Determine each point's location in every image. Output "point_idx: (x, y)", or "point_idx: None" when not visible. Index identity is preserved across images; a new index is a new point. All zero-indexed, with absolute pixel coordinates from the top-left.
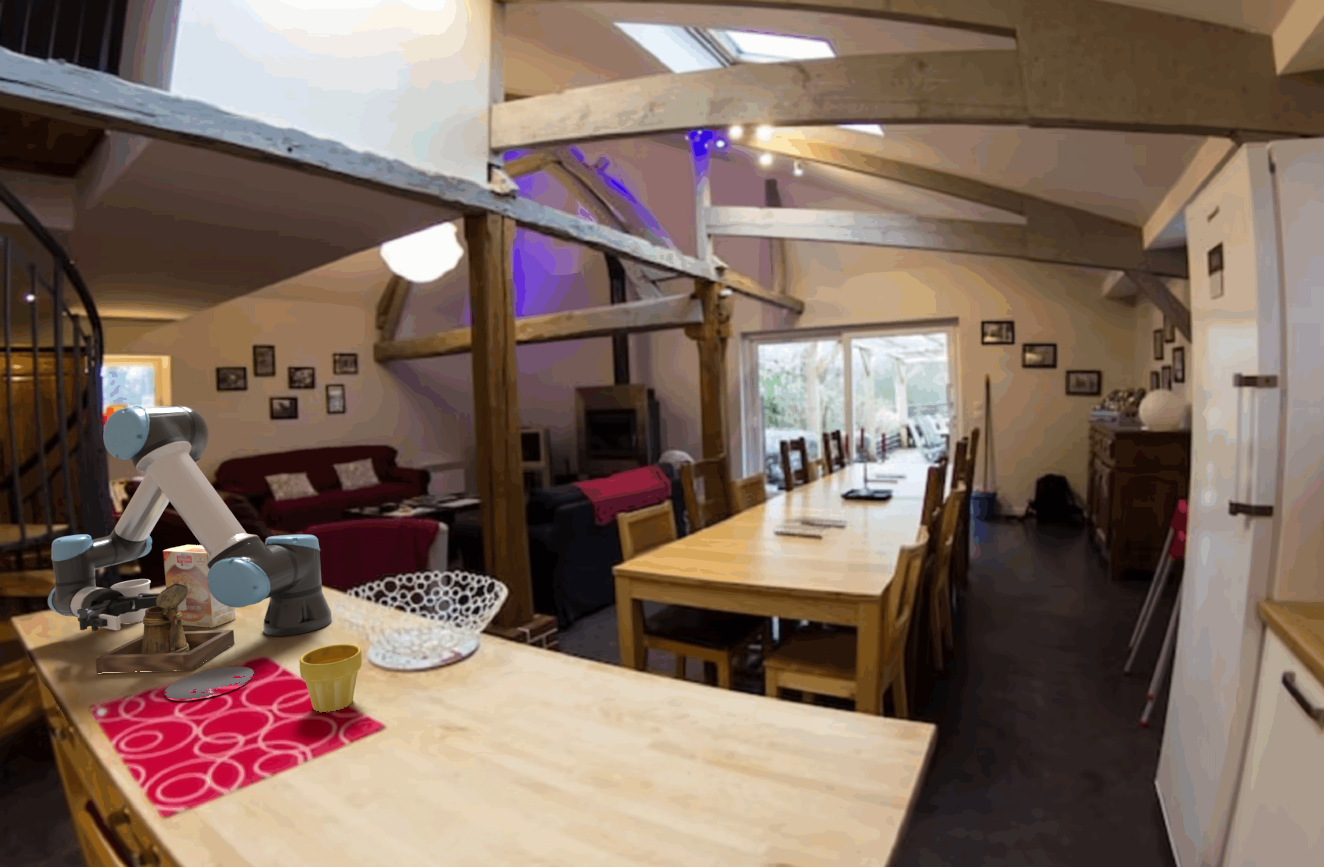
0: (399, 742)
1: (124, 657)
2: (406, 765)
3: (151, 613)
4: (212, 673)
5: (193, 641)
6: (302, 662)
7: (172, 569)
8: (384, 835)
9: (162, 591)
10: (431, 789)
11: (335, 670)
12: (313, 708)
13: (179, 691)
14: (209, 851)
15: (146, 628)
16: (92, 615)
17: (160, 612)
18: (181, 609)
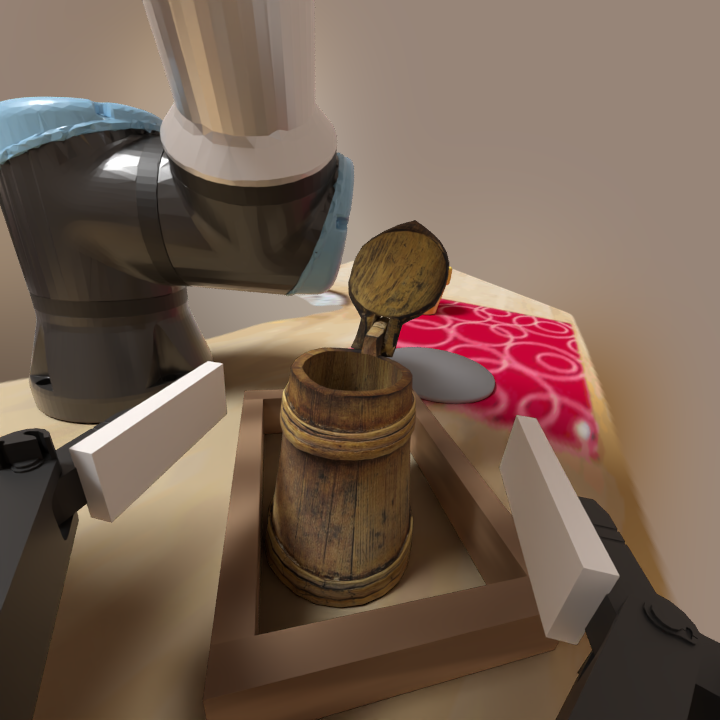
0: (443, 293)
1: (494, 495)
2: (459, 291)
3: (409, 370)
4: None
5: (261, 479)
6: (451, 268)
7: None
8: (502, 291)
9: (442, 245)
10: (469, 288)
11: None
12: (434, 312)
13: (476, 380)
14: (559, 310)
15: (410, 438)
16: (685, 673)
17: (387, 359)
18: (218, 417)
